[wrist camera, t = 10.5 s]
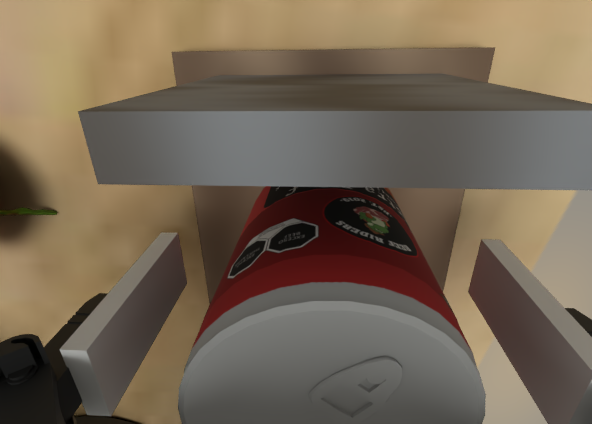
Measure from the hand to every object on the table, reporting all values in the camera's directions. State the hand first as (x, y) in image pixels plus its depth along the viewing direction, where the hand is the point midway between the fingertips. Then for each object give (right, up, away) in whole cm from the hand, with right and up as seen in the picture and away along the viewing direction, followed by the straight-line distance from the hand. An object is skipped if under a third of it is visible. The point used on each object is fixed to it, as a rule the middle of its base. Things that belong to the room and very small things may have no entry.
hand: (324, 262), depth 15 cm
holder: (0, +2, +5) cm, 5 cm away
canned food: (0, +2, +4) cm, 4 cm away
